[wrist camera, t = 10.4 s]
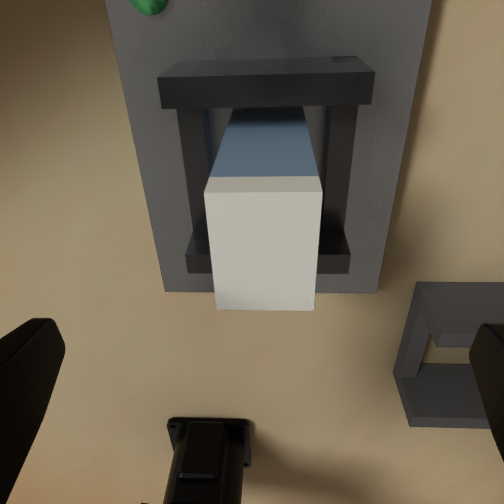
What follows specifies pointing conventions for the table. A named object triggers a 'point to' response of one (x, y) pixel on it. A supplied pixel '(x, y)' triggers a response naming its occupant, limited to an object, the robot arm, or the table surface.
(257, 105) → the port
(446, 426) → the holster
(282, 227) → the plug
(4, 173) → the table surface
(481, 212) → the table surface
